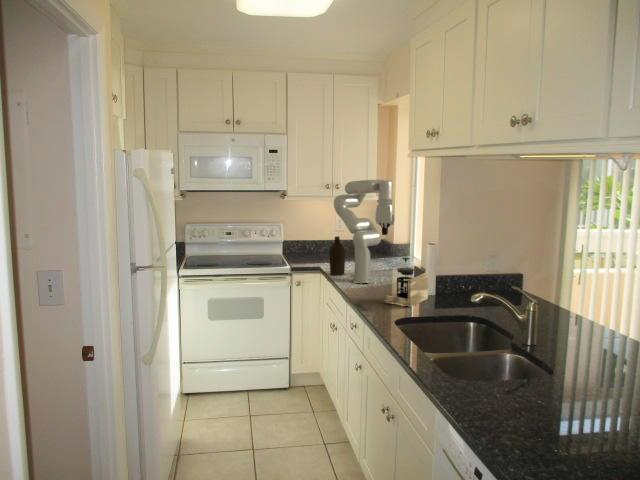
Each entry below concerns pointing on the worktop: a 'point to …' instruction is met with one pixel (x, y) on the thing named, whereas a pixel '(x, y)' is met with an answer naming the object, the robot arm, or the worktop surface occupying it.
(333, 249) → the olive oil
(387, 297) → the shelf bay
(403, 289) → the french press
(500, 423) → the worktop surface
